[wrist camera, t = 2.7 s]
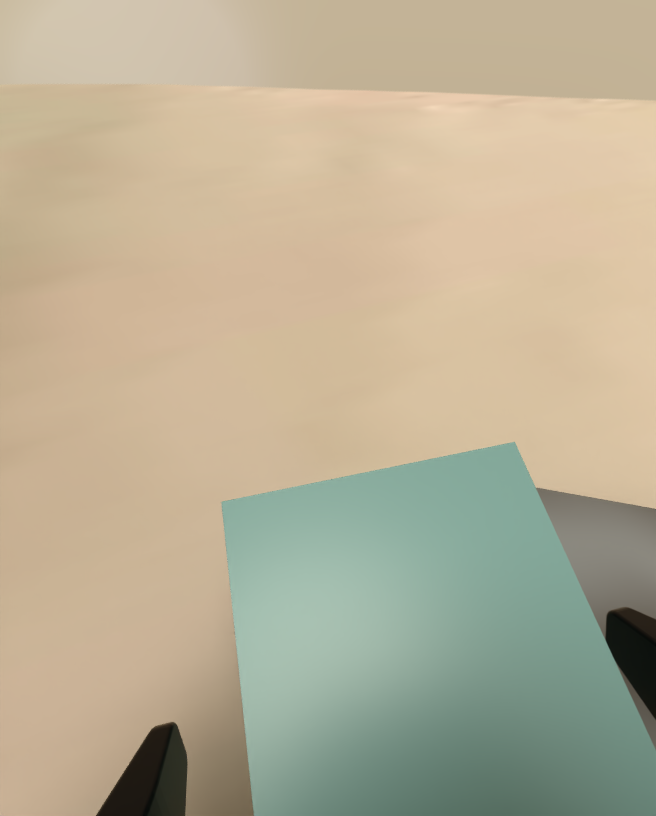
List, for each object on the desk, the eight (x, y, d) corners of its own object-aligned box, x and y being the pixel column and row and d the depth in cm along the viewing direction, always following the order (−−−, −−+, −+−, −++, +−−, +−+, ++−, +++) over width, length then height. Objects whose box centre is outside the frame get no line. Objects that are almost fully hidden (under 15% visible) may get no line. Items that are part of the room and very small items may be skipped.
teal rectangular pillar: (463, 717, 16) (687, 819, 6) (304, 760, 15) (267, 951, 5) (414, 554, 18) (514, 441, 9) (278, 585, 18) (221, 501, 8)
